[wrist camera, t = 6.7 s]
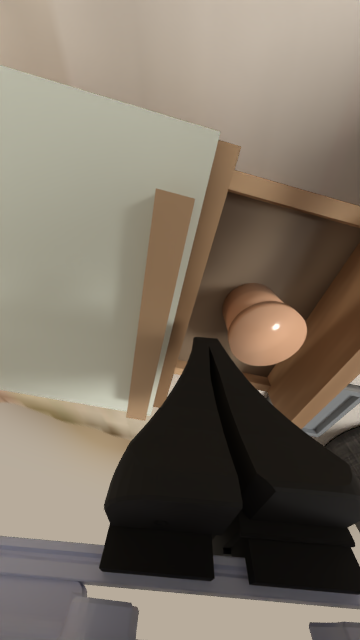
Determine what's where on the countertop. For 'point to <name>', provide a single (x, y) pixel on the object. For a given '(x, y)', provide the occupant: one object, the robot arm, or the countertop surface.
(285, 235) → the cold frame
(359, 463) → the planter
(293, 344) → the pot
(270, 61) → the countertop surface
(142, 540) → the robot arm
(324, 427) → the tray
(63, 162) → the lid
